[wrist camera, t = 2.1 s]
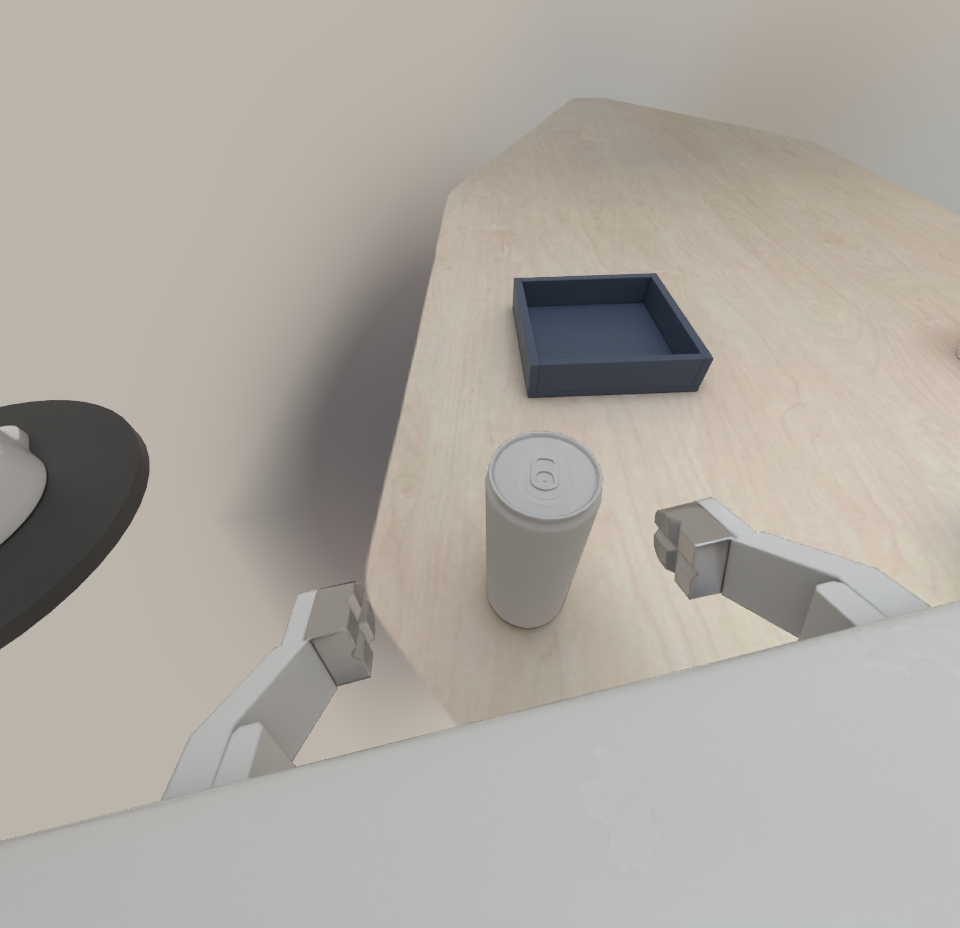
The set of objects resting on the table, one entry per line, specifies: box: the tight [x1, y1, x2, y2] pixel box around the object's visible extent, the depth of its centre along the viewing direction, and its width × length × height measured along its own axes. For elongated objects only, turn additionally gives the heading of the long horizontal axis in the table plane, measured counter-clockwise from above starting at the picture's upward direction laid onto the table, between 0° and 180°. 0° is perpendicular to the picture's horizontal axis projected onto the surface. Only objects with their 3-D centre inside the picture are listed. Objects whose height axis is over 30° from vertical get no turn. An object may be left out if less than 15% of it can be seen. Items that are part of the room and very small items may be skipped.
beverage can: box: [485, 431, 603, 628], centre depth 21 cm, size 5×5×12 cm
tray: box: [513, 273, 713, 398], centre depth 41 cm, size 16×16×4 cm
